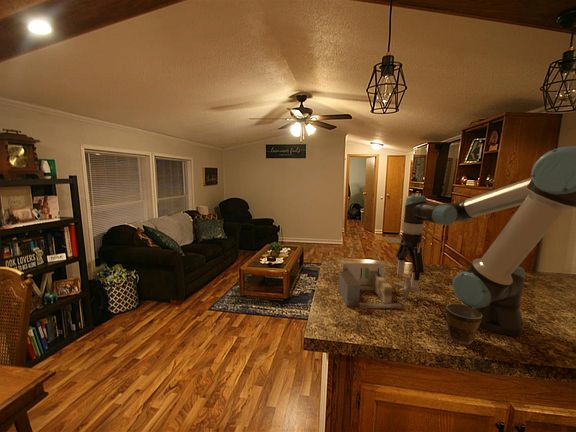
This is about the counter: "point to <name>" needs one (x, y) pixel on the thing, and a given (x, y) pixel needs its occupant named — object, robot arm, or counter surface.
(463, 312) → the ceramic cup
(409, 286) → the pipe connector
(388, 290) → the gauge pad
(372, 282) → the gauge frame
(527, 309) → the counter surface
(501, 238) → the robot arm
